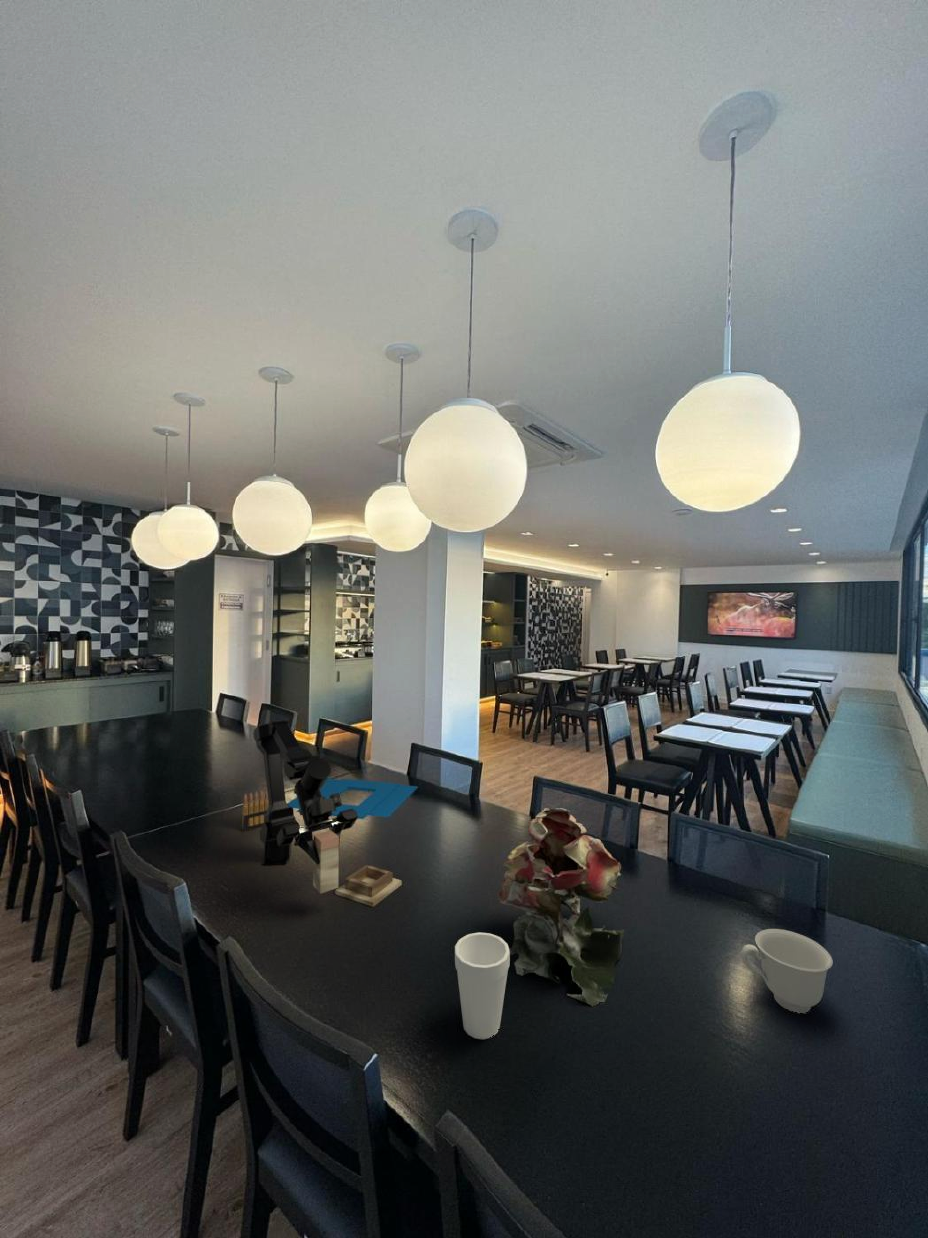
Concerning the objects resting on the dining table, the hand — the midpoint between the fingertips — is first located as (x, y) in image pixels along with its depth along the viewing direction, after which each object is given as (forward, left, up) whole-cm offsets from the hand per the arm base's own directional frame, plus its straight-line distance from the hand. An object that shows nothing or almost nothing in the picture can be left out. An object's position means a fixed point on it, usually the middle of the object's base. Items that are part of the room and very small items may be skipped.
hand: (328, 860), depth 120 cm
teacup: (+88, -35, -13) cm, 95 cm away
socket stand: (+9, +11, -13) cm, 19 cm away
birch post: (-1, +1, -7) cm, 7 cm away
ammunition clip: (-31, +55, -13) cm, 64 cm away
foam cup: (+31, -35, -13) cm, 49 cm away
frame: (-3, +80, -14) cm, 81 cm away
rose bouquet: (+50, -16, -13) cm, 55 cm away
